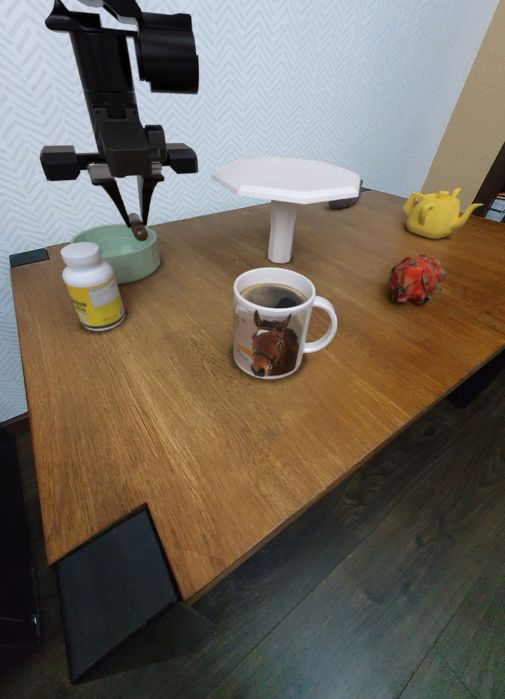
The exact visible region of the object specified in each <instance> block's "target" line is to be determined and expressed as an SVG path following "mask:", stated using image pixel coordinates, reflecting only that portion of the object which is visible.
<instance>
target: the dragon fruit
mask: <svg viewBox="0 0 505 699" xmlns="http://www.w3.org/2000/svg"><path fill="white" fill-rule="evenodd" d="M446 278H447V271H446V270H445V268H444V266H443V265H442V263H441V260H440V259H439V258H436V257H427V255H426V254H424V253H420V254H419V255H418V256H417V257H416V258H413V257H411V256H406V257H404V258H402V259H401V260H400V261H399V262H398V263H397V264H396V265H394V266H393V267H392V269H391V270H390V272H389V277H388V281H387V286H389V290H390V293H391V294H392V295H391V301H392V302H395V301H397V302H398V303H403V304H408V303H410V302H411V300H413V302H414V303H415V304H427V303H429V302H431V301H433V300H434V298H433V297H432V296H429V295H428V294H431V295H439V294H441V293H442V291H443V289H442V288H441V285H440V283H442V282H443V281H444V280H445V279H446Z"/></svg>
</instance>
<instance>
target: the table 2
mask: <svg viewBox="0 0 505 699" xmlns="http://www.w3.org/2000/svg"><path fill="white" fill-rule="evenodd" d="M210 179H211V180H213V181H215V182H216V183H217V184H219V185H221V186H222V187H224V188H225V189H227V190H228V191H230V192H232V193H233V194H234V195H236V196H241V197H247V198H256V199H262V200H270V230H269V231H270V232H269V240H268V253H267V259H268V260H269V261H270V262H272V263H277V264H286V263H290V261H291V258H292V252H293V251H292V250H293V246H294V245H293V244H294V236H295V226H296V220H297V216H298V212H299V207H300V205H308V204H317V203H325V202H329V201H331V200H338V199H345V198H353V197H358V194H359V188H360V182H361V180H362V179H361V176H360V175H359V174H358V173H357V172H355V171H352V170H349V169H346V168H344V167H340V166H338V165H335V164H332V163H329V162H326V161H323V160H322V161H321V160H312V159H303V158H293V157H283V156H267V157H266V156H265V157H253V158H252V157H251V158H237V159H235V160H232V161H231V162H229V163H227V164H226V165H224V166H222V167H220V168H219V169H217V170H215V171H214V172H213V173H212V174H211V176H210ZM360 179H361V180H360Z"/></svg>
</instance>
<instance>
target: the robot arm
mask: <svg viewBox="0 0 505 699" xmlns="http://www.w3.org/2000/svg"><path fill="white" fill-rule="evenodd" d="M76 1H78V2H79V3H80V4H82V5H84V6H86V7H91V8H93V9H94V8H95V9H97V8H102V9H104V10H105V11H106V12H107V13H108V14H109V15H111V16H112V17H113V18H114V19H115V20H116V21H117V22H118V23H120V24H122V25H130V26H131V25H133V26H135V27H136V30H131V29H121V28H119V29H118V28H111V27H104V26H103V22H102V17H101V14H100V13H98V12H87V11H78V10H70V9H68V7H66V5H65V3H64V2H63V1H62V0H54V1H53V7H52V9H51V12H50V13H49V15H48V16H46V18H45V20H44V25H45V27H46V28H47V29H48V30H49V31H51V32H53V33H56V34H57V33H58V34H68V36H69V40H70V43H71V48H72V51H73V55H74V59H75V63H76V64H75V65H76V68H77V71H78V76H79V79H80V84H81V87H82V88H81V89H82V92H83V96H84V100H85V104H86V108H87V113H88V117H89V122H90V125H91V129H92V133H93V136H94V141H95V146H96V149H97V152H76V149H75V148H76V147H75V145H74V144H67V145H65V144H64V145H61V144H60V145H43V147H42V148H41V150H40V153H39V161H40V165H41V168H42V171H43V175H44V176H45V180H46V181H49V182H64V181H65V182H66V181H77V179H78V178H79V176H80V174H81V173H82V172H81V171H87V174H88V175H89V179H90V182H91V185H92V186H95V187H101V188H102V189H103V190H104V191H105V193H106V194H107V195H108V197H109V198H110V199H111V201H113V203H114V205H115V207H116V209H117V210H118V213H119V214H120V216H121V217H122V220H123V221H124V224H126V225H127V227H128V228H131V225H130V220H129V217H128V215H129V213H128V211H127V209H126V208H127V207H126V206H125V202H124V200H123V197H122V194H121V191H120V188H119V185H118V181H117V180H116V178H117V179H125V178H126V177H135V176H136V183H137V184H136V185H137V193H138V203H139V212H140V213H139V214H140V218H141V220H142V222H143V224H144V226H145V227H147V226H148V221H149V215H150V208H151V202H152V197H153V194H154V191H155V188H156V187H157V185H158V183H162V182H165V175H163V173H162V170H163V167H169V168H170V169H171V170H172V171H173V172H174V173H175V174H177V175H189V174H191V175H192V174H197V173H199V159H198V154H197V153H196V151H195V150H194V149H193V148H192V147H190V146H189V145H187V144H186V143H184V142H166V134H165V129H164V128H163V126H162V124H145V125H144V126H143V124H142V121H141V119H140V113H139V107H138V101H137V94H136V87H135V82H134V75H133V70H132V64H131V58H130V57H131V56H130V52H129V51H130V50H129V44H128V39H130V40H132V42H133V49H134V55H135V61H136V68H137V75H138V80H139V82H145V83H148V87H149V91H150V93H151V94H171V95H198V94H199V89H200V59H199V58H200V57H199V54H197V45H196V39H195V34H194V30H193V17H192V15H191V14H190V13H187V12H186V13H184V12H177V13H173V14H167V13H159V12H149V11H142V9H141V7H140V5H139V4H138V2H137V0H76Z"/></svg>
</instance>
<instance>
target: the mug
mask: <svg viewBox="0 0 505 699" xmlns="http://www.w3.org/2000/svg"><path fill="white" fill-rule="evenodd" d="M316 292H317V291H316V288H315V285H314V283H313V282H312V281H311V280H310V279H309V278H308V277H306V276H304V275H303V274H301V273H299V272H297V271H293V270H290V269H287V268H282V267H271V266H269V267H257V268H254V269H250V270H247V271H245V272H243V273H241V274H240V275H238V277H237V278H236V279H235V280H234V282H233V287H232V355H233V359H234V362H235V364H236V365H237V366H238V368H240V369H241V370H242V371H243V372H244V373H246V374H248V375H250V376H252V377H254V378H258V379H263V380H276V379H283V378H285V377H288V376H290V375H291V374H293V373H294V372H296V371H297V370H298V369H299V367H300V366H301V364H302V361H303V357H304V354H311V353H316V352H318V351H321V350H323V349H324V348H326V347H327V346H328V345H329V344H331V342H332V341H333V339H334V337H335V336H336V333H337V330H338V318H337V312H336V309H335V307H334V306H333V304H332V303H331V302H330V301H329V300H328V299H327V298H325V297H322V296H319V295H317V294H316ZM314 307H315V308H320V309H321V310H324V311H325V312H326V313H327V314H328V316H329V318H330V324H329V327H328V330H327V331H326V333H324V335H323V336H322V337H320V338H319V339H317V340H315V341H313V342H307V338H308V333H309V328H310V322H311V320H312V319H311V318H312V314H313V309H314Z"/></svg>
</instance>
